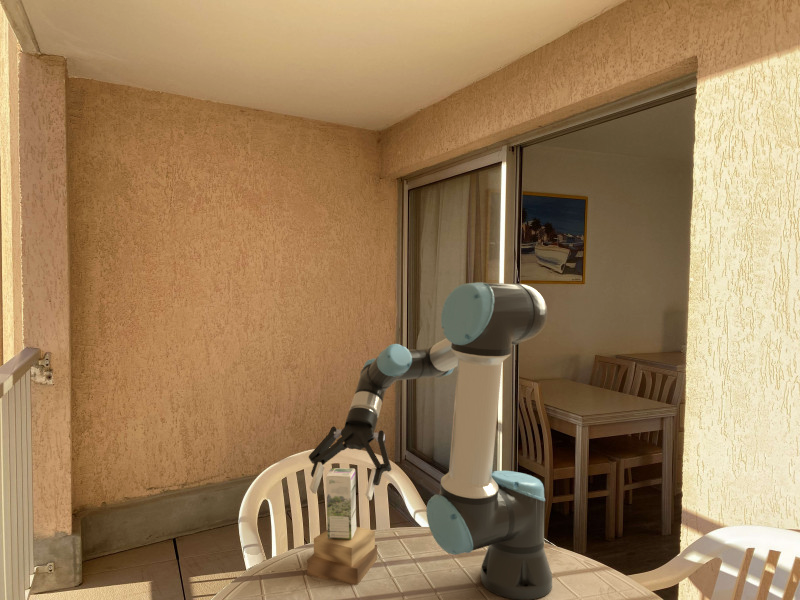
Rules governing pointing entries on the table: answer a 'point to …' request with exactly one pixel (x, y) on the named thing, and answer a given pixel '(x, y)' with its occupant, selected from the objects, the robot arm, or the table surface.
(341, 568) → the walnut block
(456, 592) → the table surface
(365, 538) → the oak block
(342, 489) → the syrup box
